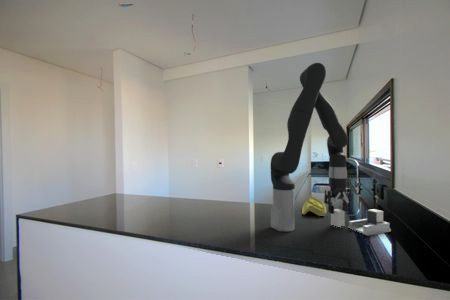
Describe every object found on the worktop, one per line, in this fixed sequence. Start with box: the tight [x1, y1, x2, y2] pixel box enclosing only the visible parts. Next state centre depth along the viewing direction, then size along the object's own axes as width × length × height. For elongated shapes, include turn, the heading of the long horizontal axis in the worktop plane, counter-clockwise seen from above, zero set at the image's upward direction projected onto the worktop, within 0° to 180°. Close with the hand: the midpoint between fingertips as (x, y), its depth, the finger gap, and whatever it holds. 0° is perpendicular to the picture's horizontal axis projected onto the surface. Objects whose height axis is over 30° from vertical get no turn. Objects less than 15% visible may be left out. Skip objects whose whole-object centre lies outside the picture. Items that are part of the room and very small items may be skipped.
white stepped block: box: [347, 208, 392, 236], centre depth 98 cm, size 14×9×8 cm, turn 112°
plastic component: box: [301, 195, 327, 217], centre depth 128 cm, size 20×7×10 cm
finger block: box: [330, 208, 346, 228], centre depth 104 cm, size 5×4×7 cm
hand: (338, 212), depth 105 cm, fingers open, 8 cm apart
